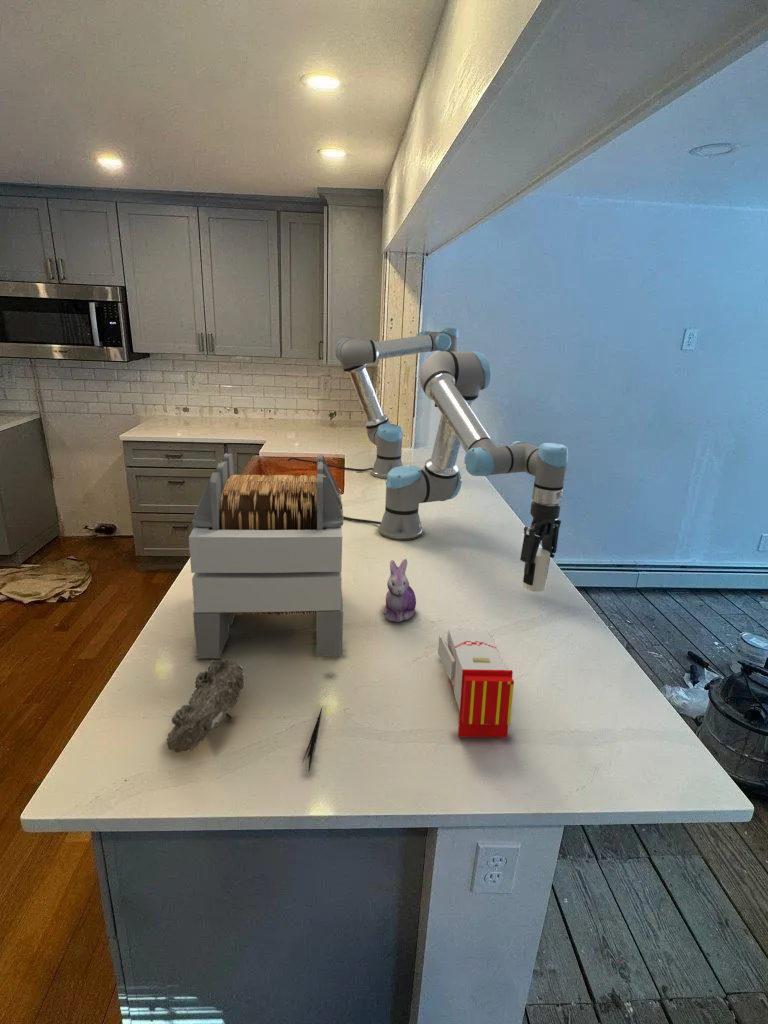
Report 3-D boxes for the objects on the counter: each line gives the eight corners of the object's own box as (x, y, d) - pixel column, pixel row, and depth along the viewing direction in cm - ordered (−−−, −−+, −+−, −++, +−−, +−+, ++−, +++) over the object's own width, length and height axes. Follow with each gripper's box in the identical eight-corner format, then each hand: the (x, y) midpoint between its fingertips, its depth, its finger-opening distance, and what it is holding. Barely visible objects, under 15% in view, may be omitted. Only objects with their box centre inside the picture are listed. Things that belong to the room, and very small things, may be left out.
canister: (523, 581, 162) (528, 546, 159) (544, 583, 161) (549, 549, 158) (524, 590, 157) (529, 554, 153) (545, 592, 156) (551, 557, 152)
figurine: (392, 627, 141) (395, 572, 136) (374, 608, 149) (376, 556, 144) (425, 619, 145) (429, 566, 140) (405, 601, 154) (408, 550, 149)
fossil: (192, 660, 117) (244, 628, 112) (224, 691, 120) (276, 661, 115) (142, 746, 98) (202, 712, 93) (182, 779, 101) (242, 748, 96)
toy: (488, 613, 130) (523, 677, 101) (484, 667, 133) (517, 744, 104) (435, 612, 130) (455, 676, 101) (432, 666, 133) (451, 743, 103)
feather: (331, 679, 122) (336, 673, 122) (307, 777, 96) (313, 769, 95) (324, 675, 122) (329, 669, 121) (298, 772, 95) (304, 764, 95)
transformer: (219, 588, 156) (210, 443, 142) (338, 587, 160) (340, 446, 146) (193, 661, 124) (179, 483, 110) (343, 657, 128) (346, 485, 114)
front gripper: (536, 512, 142) (524, 594, 150) (578, 499, 154) (565, 576, 162) (512, 504, 148) (502, 584, 156) (555, 492, 159) (543, 567, 167)
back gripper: (441, 363, 262) (437, 409, 269) (467, 360, 281) (463, 403, 288) (427, 361, 266) (424, 407, 273) (454, 359, 285) (451, 402, 292)
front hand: (534, 580), depth 159 cm, fingers closed on canister, 6 cm apart
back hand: (444, 405), depth 281 cm, fingers open, 13 cm apart
